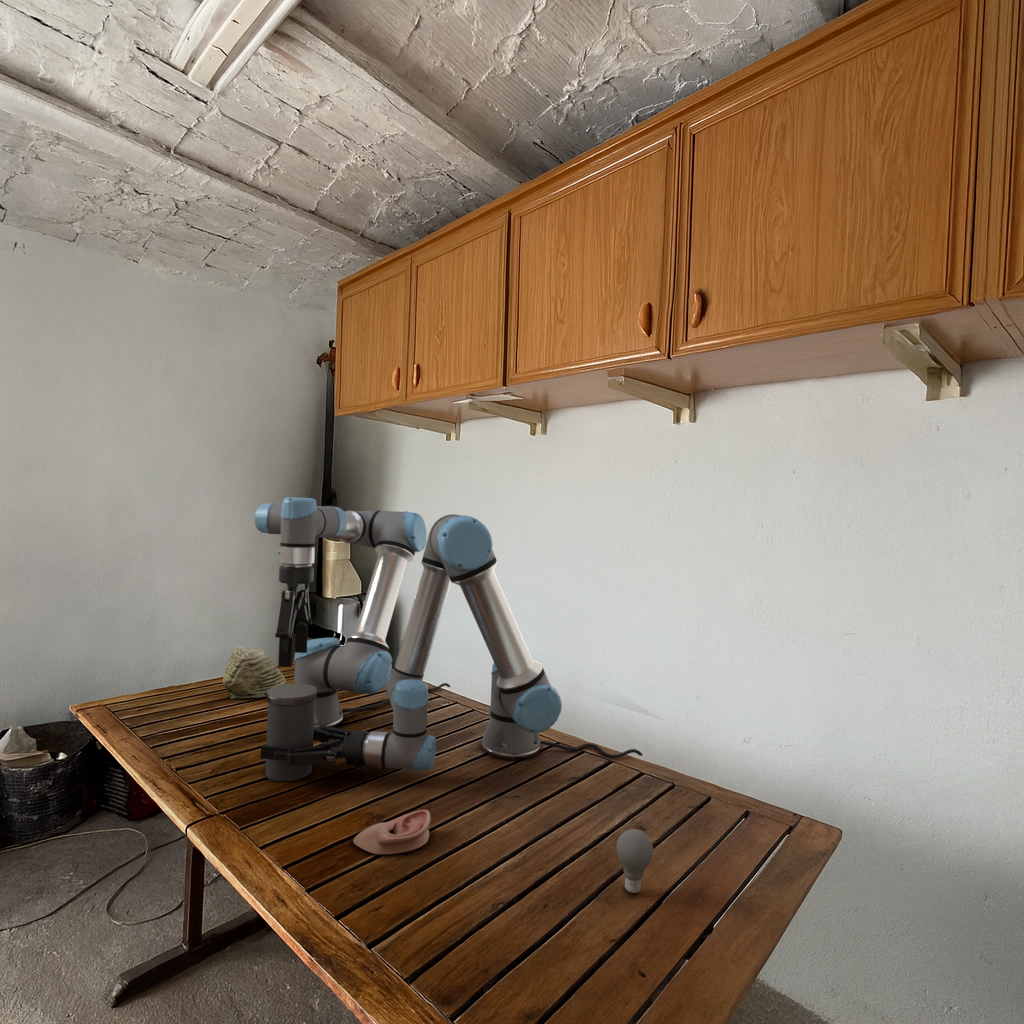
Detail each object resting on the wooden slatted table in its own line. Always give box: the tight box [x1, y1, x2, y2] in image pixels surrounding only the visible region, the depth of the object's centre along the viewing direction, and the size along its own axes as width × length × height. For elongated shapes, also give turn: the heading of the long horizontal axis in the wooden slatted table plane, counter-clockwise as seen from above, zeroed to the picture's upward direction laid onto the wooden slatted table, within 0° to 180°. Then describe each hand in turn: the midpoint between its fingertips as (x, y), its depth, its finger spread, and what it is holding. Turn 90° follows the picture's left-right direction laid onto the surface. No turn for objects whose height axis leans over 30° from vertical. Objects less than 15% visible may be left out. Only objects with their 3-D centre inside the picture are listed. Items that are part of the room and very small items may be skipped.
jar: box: [264, 700, 315, 782], centre depth 145 cm, size 10×10×18 cm
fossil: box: [222, 646, 287, 699], centre depth 198 cm, size 9×18×15 cm, turn 132°
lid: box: [265, 683, 317, 706], centre depth 145 cm, size 11×11×2 cm
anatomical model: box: [352, 809, 431, 856], centre depth 118 cm, size 13×4×12 cm
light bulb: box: [615, 828, 654, 894], centre depth 106 cm, size 6×6×10 cm
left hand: (293, 659), depth 145 cm, fingers open, 12 cm apart
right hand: (273, 741), depth 145 cm, fingers open, 11 cm apart
